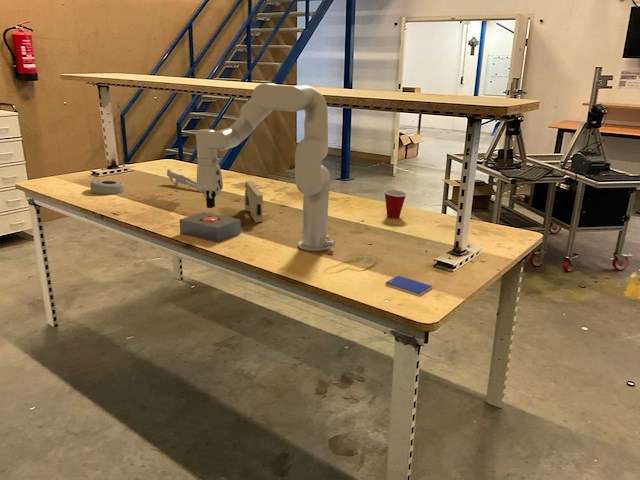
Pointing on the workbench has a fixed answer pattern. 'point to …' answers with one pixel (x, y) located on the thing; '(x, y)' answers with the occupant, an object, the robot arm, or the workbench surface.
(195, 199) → the workbench surface
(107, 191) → the turbocharger housing
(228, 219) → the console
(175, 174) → the gun
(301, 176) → the robot arm
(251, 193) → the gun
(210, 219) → the button
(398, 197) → the plastic cup
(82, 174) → the workbench surface
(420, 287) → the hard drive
